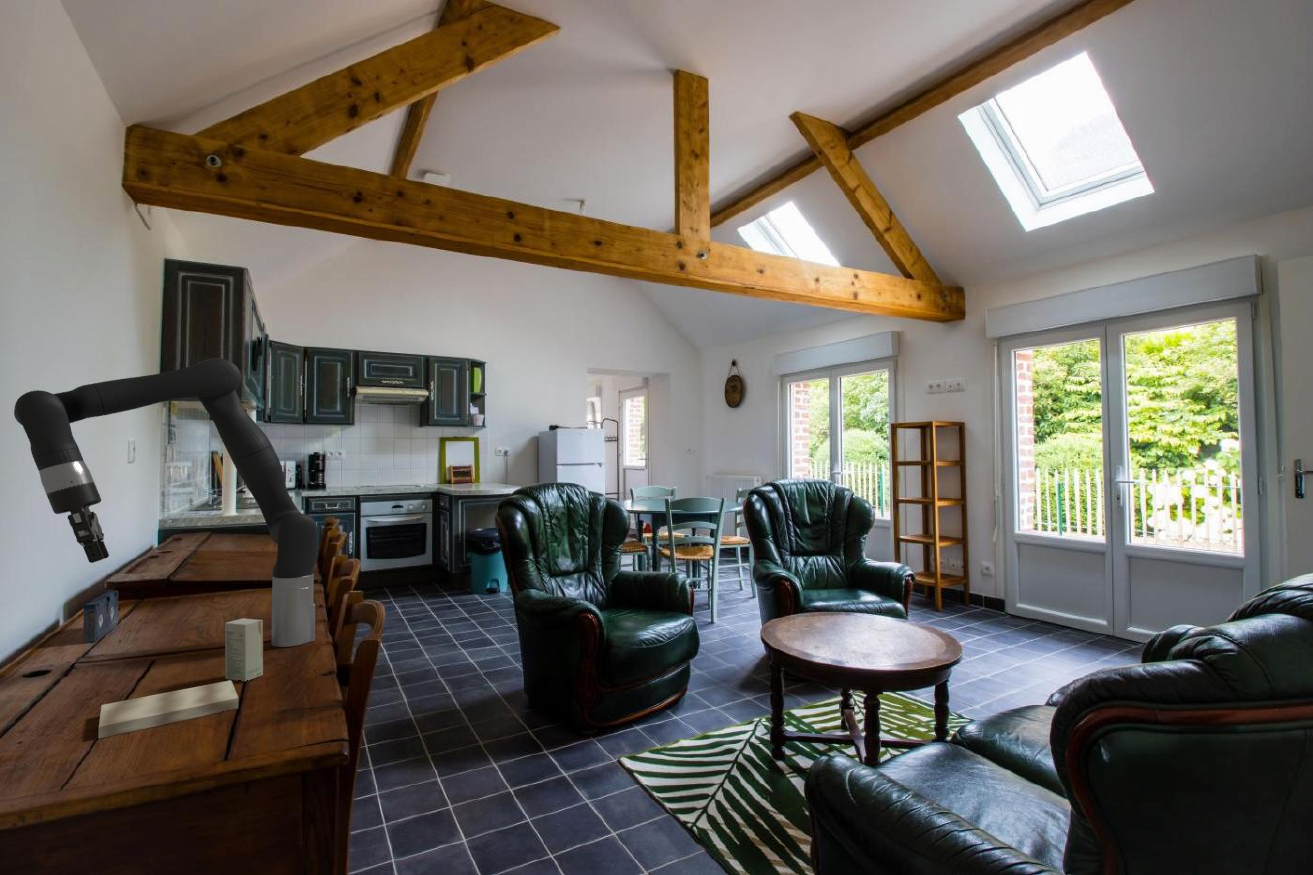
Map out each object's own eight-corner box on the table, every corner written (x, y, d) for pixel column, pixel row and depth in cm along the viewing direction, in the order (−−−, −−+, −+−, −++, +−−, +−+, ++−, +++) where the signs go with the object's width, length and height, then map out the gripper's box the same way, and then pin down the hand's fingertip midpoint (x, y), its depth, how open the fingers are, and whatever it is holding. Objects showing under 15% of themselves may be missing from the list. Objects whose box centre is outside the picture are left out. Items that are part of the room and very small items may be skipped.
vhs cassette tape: (107, 626, 176) (107, 590, 176) (120, 625, 177) (121, 589, 178) (79, 644, 159) (81, 605, 160) (95, 643, 161) (95, 604, 161)
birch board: (230, 689, 129) (231, 680, 129) (238, 708, 120) (238, 697, 120) (101, 715, 116) (101, 704, 116) (98, 738, 107) (98, 726, 107)
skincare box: (263, 675, 137) (264, 619, 138) (245, 682, 133) (246, 624, 133) (242, 672, 139) (243, 617, 140) (223, 679, 135) (224, 622, 136)
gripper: (88, 479, 125) (118, 554, 127) (98, 482, 137) (126, 551, 138) (38, 492, 121) (70, 570, 122) (53, 494, 132) (82, 565, 134)
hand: (100, 560), depth 130 cm, fingers open, 8 cm apart
